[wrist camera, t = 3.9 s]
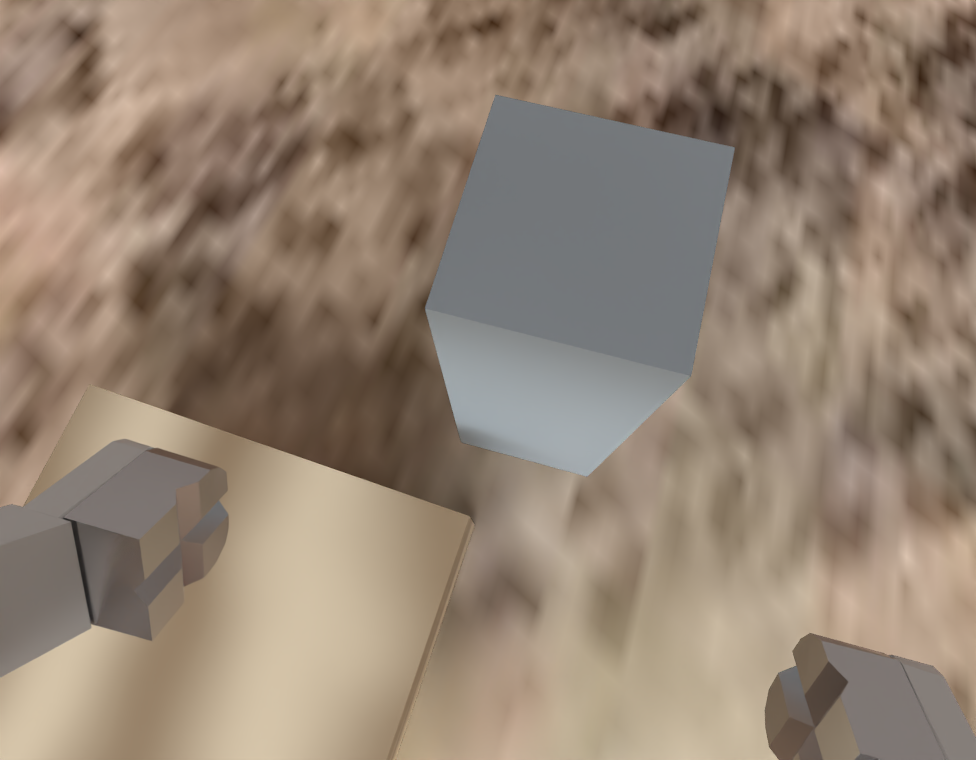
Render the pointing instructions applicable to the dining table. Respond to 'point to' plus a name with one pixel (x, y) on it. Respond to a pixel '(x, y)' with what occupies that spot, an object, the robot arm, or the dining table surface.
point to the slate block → (574, 281)
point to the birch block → (251, 616)
